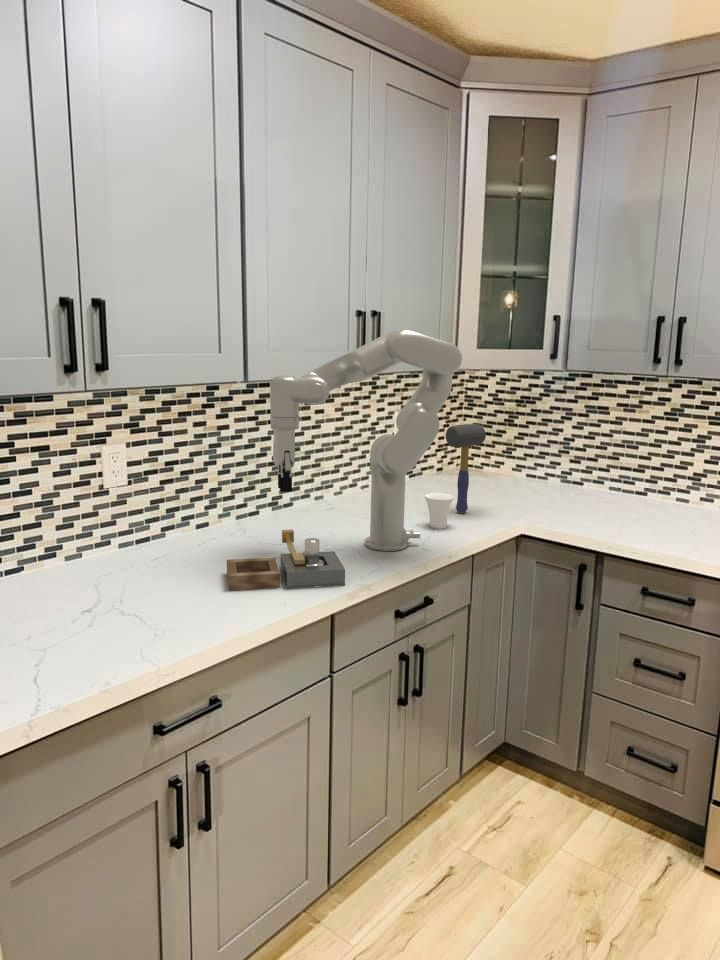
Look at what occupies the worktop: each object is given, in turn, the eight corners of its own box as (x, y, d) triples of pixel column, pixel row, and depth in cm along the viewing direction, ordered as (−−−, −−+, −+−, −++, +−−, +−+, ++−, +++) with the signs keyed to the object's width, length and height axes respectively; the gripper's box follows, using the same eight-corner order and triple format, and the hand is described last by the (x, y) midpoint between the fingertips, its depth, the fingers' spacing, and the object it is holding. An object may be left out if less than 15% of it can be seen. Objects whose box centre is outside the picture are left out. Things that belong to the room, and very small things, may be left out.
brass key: (294, 540, 192) (294, 529, 191) (305, 564, 173) (305, 552, 173) (281, 540, 191) (281, 529, 191) (291, 564, 173) (291, 553, 172)
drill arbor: (321, 572, 181) (322, 536, 179) (325, 580, 175) (326, 543, 173) (298, 573, 180) (298, 537, 177) (301, 581, 174) (301, 544, 172)
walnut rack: (274, 570, 181) (274, 557, 180) (280, 587, 170) (280, 573, 169) (226, 573, 179) (226, 559, 178) (229, 590, 167) (228, 576, 166)
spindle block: (334, 565, 186) (334, 551, 185) (345, 585, 172) (345, 569, 171) (280, 568, 182) (280, 553, 182) (287, 588, 169) (287, 572, 168)
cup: (457, 529, 220) (459, 497, 218) (429, 530, 218) (430, 499, 216) (447, 521, 229) (448, 491, 227) (419, 522, 227) (420, 492, 224)
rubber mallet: (454, 517, 233) (459, 426, 227) (440, 512, 239) (444, 423, 233) (482, 512, 240) (488, 424, 233) (468, 507, 246) (472, 421, 240)
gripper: (267, 418, 197) (268, 483, 201) (273, 427, 181) (274, 497, 185) (294, 418, 198) (294, 482, 202) (303, 427, 183) (303, 496, 187)
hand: (284, 489), depth 194 cm, fingers open, 3 cm apart
